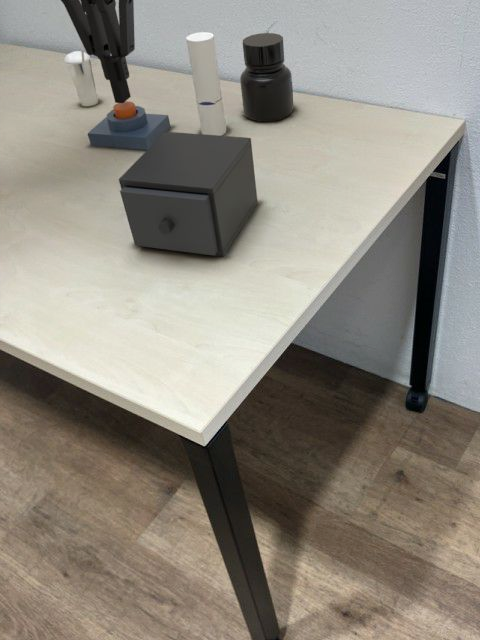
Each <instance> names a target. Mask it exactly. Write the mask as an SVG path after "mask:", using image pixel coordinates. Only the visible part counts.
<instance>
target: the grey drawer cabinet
mask: <svg viewBox="0 0 480 640" xmlns="http://www.w3.org/2000/svg"><path fill="white" fill-rule="evenodd" d="M253 155H254V154H253V146H252V138H251V137H245V136H244V137H243V136H231V135H230V136H229V135H221V136H218V135H204V134H202V133H192V132H191V133H189V132H178V131H177V132H176V131H175V132H174V131H167V132H164V133H163V134H162V135H161V136H160V137H159V138H158V139H157V141H156V142H155V143H154V144H153V145H152V146H151V147H150V148H149V149H148V150H145V152H144V153H143V154H141V156H139V157H138V158H137V160H136V161H135V162H134V163H133V164H132V165H131V166H130V167H129V168H128V169H127V170H126V171H125V172H124V173H123V174H122V175H121V176H120V177H119V179H118V182H119V186H120V189H121V190H122V189H123V188H124V187H131V188H136V187H145V188H155V189H165V190H175V191H185V192H195V193H205V194H208V195H209V198H210V204H211V210H212V216H213V222H214V228H215V234H216V240H217V246H218V252H217V253H216V255H215V257H225V255H226V254H227V253H228V251H229V249H230V247H231V246H232V245H233V243H234V241H235V240H236V238H237V237H238V235H239V234H240V232H241V230H242V229H243V227H244V226H245V224H246V222H247V221H248V219H249V218H250V216H251V215H252V213H253V211H254V210H255V208H256V206H257V205H258V204H259V201H258V193H257V185H256V184H257V183H256V174H255V164H254V156H253ZM121 190H120V191H121Z"/></svg>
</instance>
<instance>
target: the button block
mask: <svg viewBox="0 0 480 640" xmlns="http://www.w3.org/2000/svg"><path fill="white" fill-rule="evenodd" d="M135 108H136V112H137V114H136V115H135V116H133V117H130V118H125V119H118V118H116V117H115V113H114V109H111V110H110V111H109V112H108V113H106V116H105V118H103V119H102V120H101V121H99V123H97V124H96V125H95V126H94V127H92V128H91V130H89V131H88V132H87V136H88V140H89V144H90V146H91V147H102V148H113V149H114V148H115V149H127V150H137V151H138V150H139V151H147V150H148V149H149V148H150V147H151V146H152V145H153V144H154V143H155V142H156V141H157V139H158V138H159V137H160V136H161V135H162V134H163V133H164V132H169V130H170V129H171V121H170V117H169V114H161V113H160V114H159V113H147V112H146V110H145V108H144V107H142V106H139V105H135Z"/></svg>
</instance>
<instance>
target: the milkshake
mask: <svg viewBox="0 0 480 640" xmlns="http://www.w3.org/2000/svg"><path fill="white" fill-rule="evenodd" d="M90 56H91V55H88V54H87V52H86V51H84V50H74V51H72V52H69V53H67V54H66V56H65V57H64V63H65V66H66V68H67V70H68V73H69V76H70V78H71V81H72V84H73V86H74V88H75V91H76V94H77V96H78V99H79V102H80V105H81V106H82V107H93V106H96V105H98V103H99V98H98V92H97V89H96V83H95V79H94V73H93V69H92V68H93V67H92V61H91V57H90Z"/></svg>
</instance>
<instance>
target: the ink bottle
mask: <svg viewBox="0 0 480 640" xmlns="http://www.w3.org/2000/svg"><path fill="white" fill-rule="evenodd" d="M284 45H285V44H284V36H283V35H281V34H278V33H274V32H262V33H255V34H251V35H248V36H246V37H245V38H244V39H242V51H243V62H244V65H245V69H244V70H243V71H242V72H241V74H240V76H239V77H240V79H239V81H240V91H241V99H242V107H243V108H242V110H243V114H244V116H245V117H246V118H247V119H249V120H253V121H256V122H257V121H258V122H274V121H275V122H276V121H279V120H282V119H284V118H286V117H288V116H290V114H291V113H292V112H293V110H294V93H293V92H294V91H293V78H292V76H293V75H292V71H291V69H290V68H289V67H288V66H286V65H285V46H284Z"/></svg>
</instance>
